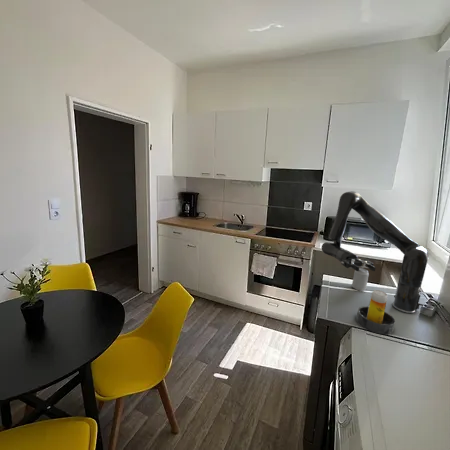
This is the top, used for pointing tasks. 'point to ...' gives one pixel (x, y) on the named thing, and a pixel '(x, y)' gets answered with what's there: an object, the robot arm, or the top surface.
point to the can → (360, 279)
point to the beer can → (377, 306)
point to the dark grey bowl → (372, 326)
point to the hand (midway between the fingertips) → (366, 269)
